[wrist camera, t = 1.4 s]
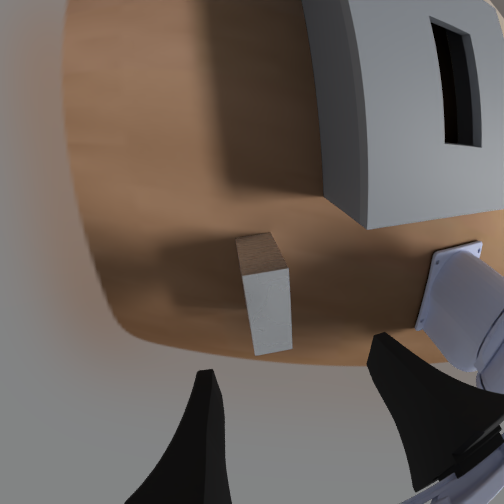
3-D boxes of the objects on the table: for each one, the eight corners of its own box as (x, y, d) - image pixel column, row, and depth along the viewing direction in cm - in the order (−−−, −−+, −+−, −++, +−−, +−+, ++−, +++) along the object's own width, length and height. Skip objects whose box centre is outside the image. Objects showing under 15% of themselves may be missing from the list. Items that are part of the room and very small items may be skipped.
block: (277, 303, 21) (292, 348, 17) (246, 308, 21) (255, 355, 17) (270, 232, 19) (288, 268, 14) (235, 237, 19) (242, 276, 14)
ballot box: (460, 185, 19) (509, 208, 13) (323, 196, 18) (367, 229, 13) (447, 17, 12) (495, 8, 6) (296, -22, 11) (328, -65, 5)
